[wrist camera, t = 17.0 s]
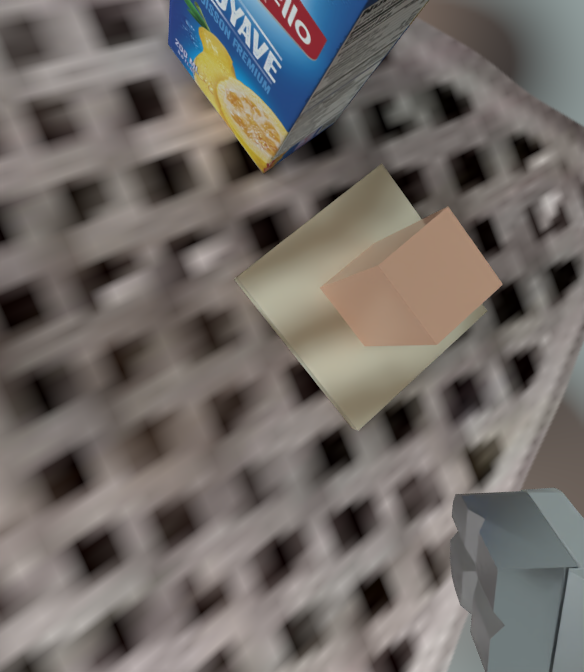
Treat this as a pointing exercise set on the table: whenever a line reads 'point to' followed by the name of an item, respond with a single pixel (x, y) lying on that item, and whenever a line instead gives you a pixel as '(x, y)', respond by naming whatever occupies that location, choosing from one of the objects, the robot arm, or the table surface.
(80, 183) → the table surface
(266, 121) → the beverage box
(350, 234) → the placemat
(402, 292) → the terracotta block
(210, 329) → the table surface
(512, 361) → the table surface
